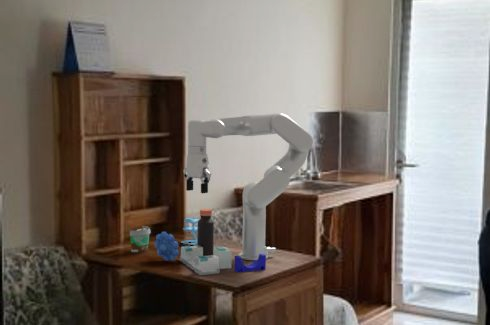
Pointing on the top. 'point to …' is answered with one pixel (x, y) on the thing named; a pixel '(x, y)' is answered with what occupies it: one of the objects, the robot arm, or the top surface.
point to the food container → (140, 240)
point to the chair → (192, 229)
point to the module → (223, 256)
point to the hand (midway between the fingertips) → (197, 191)
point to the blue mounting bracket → (255, 266)
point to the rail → (199, 260)
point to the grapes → (166, 246)
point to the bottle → (206, 232)
